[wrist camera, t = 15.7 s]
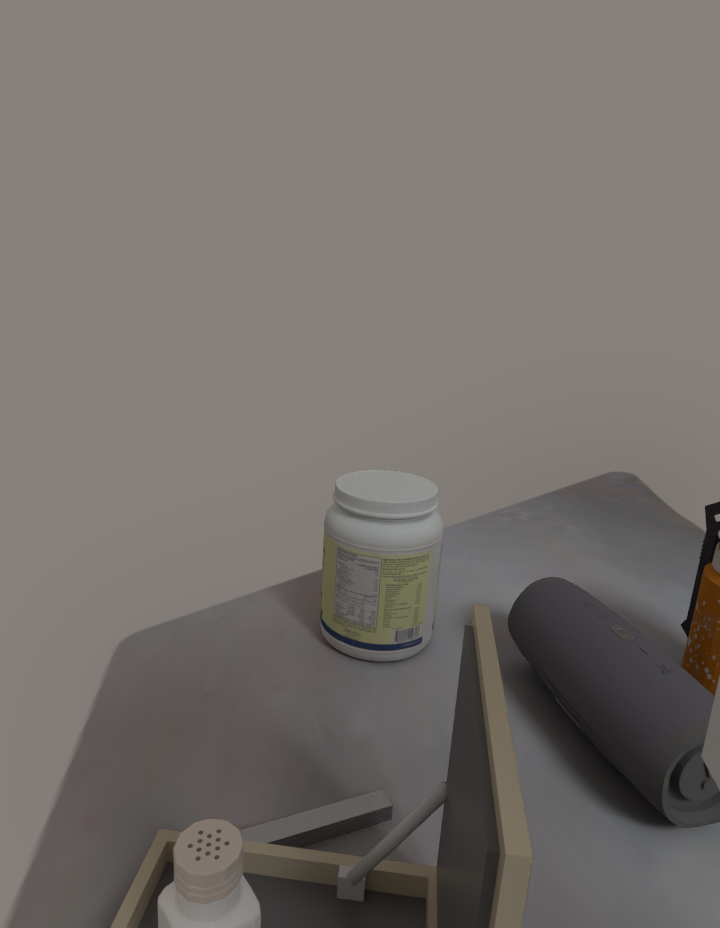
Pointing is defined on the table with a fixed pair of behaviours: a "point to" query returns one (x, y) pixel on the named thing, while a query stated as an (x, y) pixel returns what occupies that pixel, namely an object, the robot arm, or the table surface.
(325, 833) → the bar
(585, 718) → the bluetooth speaker
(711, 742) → the robot arm
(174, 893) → the pepper shaker
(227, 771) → the table surface
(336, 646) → the supplement tub
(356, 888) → the case
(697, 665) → the canister
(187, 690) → the table surface
